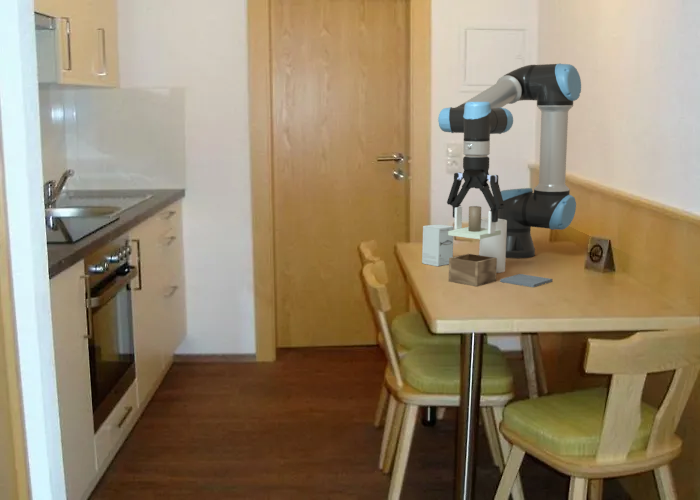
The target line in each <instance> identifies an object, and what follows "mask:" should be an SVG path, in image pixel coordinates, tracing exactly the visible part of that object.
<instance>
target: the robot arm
mask: <svg viewBox="0 0 700 500" xmlns="http://www.w3.org/2000/svg"><path fill="white" fill-rule="evenodd" d="M581 92H582V80H581V76H580V73H579V71H578V70H577V68H576V67H575V66H574V65H573V64H568V63H549V64H548V63H547V64H545V63H543V64H529V65H525V66H520V67H519V68H516V69H513V70H512V71H510V72H508V73H505V74H504V75H502V76H500V78H498V79H497V82H496V83H494V84H493V85H491V86H490V87H488V88H486V89H485V90H483V91H481V92H480V93H478V94H477V95H475V96H473V97H471V98H470V99H468V100H467V101H465V102H463V103H461V104H459V105H458V106H455V107H444V108H442V109H441V110H440V112H439V113H438V119H437V120H438V121H437V122H438V126H439V129H440V130H441V131H442V132H444V133H450V134H459V133H461V134H463V144H462V145H463V148H462V149H463V150H462V152H463V153H462V154H463V155H464V156H463V157H462V168H463V172H454V173H453V183H452V184H451V189H450V190H449V191H450V192H449V194H448V198H447V201H446V203H447V205H449V206H451V207H452V218H453V219H454V230H456V229H461V228H463V207H462V205H461V204H462V203H463V201H464V199H465V198H466V196H467V194H468V192H469V191H470V190H471V189H479V191H480V192H481V193H482V194H483V197H484V199H485V201H486V202H487V204H488V206H489V208H490V209H489V210H488V215H487V216H488V234H492V233H495V229H496V222H497V221H498V219H504V220H507V234H506V259H527V258H533V257H535V254H536V249H535V245H534V242H533V238H532V234H531V228H539V229H540V228H541V229H550V230H551V231H552V230H565V229H566V228H568V227H569V226H570V225H571V223H572V222H573V220H574V217H575V215H576V209H577V201H576V198H575V197H574V196H573V195H571V193H570V191H571V189H570V188H569V186H567V185H566V174H567V171H566V170H567V151H568V150H567V149H568V128H569V127H568V123H569V111H570V110H571V109H572V108H573V107H574V102H575V101H577V100H578V99H579V98H580V97H581ZM519 101H536V106H537V107H536V108H538V109H539V110H540V111H541V113H540V115H541V116H540V143H539V166H538V173H539V174H538V184H537V185H536V186H535V187H534V188H531V187H526V188H525V187H524V188H512V189H511V188H510V189H503V190H501V188H500V183H499V175H498V174H490V173H489V169H490V157H489V155H490V154H491V152H490V147H491V146H490V145H491V143H490V142H491V141H490V139H491V135H495V134H497V135H498V134H499V135H501V134H505V133H507V132H509V131H510V130H511V129H512V127H513V124H514V116H513V114H512V112H511V111H510V110H509V109H508V108H504V107H505V106H506V105H508V104H510V105H511V104H516V103H517V102H519ZM462 180H463V181H464V182H463V181H462ZM462 182H463V184H462ZM488 182H489V184H490V185H489V184H488Z"/></svg>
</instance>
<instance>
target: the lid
mask: <svg viewBox="0 0 700 500" xmlns="http://www.w3.org/2000/svg"><path fill="white" fill-rule="evenodd" d="M481 219H482V206H479V205H472V206H468V226H467V227H466V226H465V227H462V228H461V229H456V230H455V229H454V230H451V231H448V235H451V236H453V237H460V238H467V239H475V240H480V239H483V238H488V237H492V236H496V235H500V234H501V230H495V233H492V234H488V229H485V228H481Z"/></svg>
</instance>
